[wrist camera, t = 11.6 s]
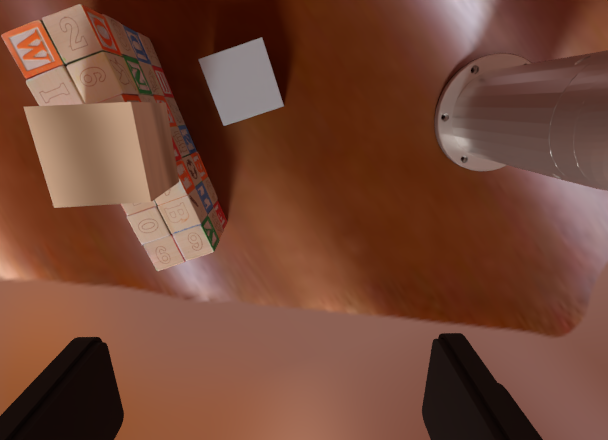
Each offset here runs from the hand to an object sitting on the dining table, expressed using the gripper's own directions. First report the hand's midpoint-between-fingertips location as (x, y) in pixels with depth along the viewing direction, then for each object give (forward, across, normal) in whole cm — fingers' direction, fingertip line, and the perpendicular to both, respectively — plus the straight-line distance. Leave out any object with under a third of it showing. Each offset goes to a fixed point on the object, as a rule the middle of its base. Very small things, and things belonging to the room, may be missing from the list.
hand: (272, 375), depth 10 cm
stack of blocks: (+31, +14, -3) cm, 34 cm away
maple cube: (+19, +12, -4) cm, 23 cm away
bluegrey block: (+31, +5, -9) cm, 33 cm away
